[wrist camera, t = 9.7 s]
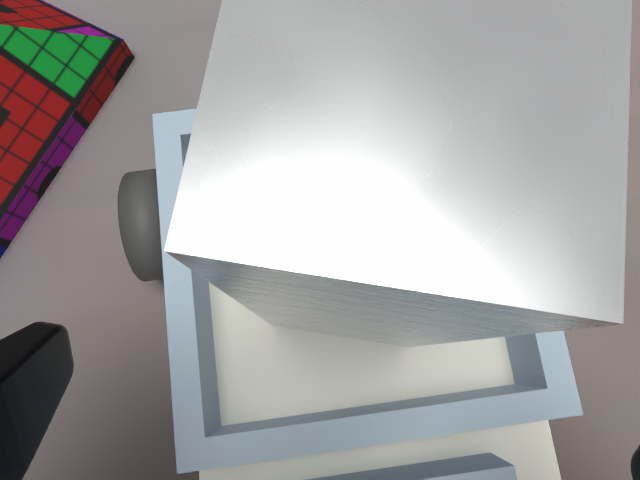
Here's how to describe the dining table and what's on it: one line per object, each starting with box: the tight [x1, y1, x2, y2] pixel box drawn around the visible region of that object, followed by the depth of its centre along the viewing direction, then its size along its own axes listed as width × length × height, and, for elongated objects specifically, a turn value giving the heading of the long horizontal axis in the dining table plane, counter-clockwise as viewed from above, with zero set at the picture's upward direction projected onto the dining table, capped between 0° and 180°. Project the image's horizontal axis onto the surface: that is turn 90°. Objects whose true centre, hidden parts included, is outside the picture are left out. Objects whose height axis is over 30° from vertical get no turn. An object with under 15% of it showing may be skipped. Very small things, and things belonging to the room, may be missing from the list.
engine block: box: [164, 0, 632, 347], centre depth 11 cm, size 4×4×12 cm
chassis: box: [118, 109, 583, 480], centre depth 16 cm, size 20×13×4 cm
